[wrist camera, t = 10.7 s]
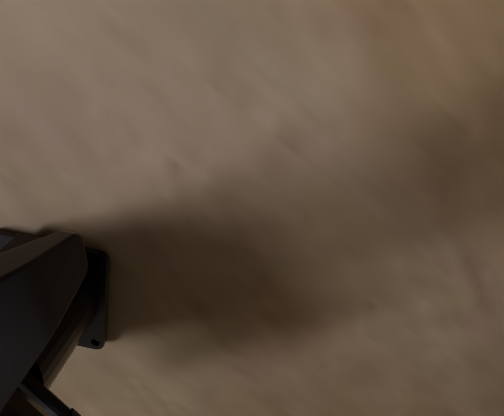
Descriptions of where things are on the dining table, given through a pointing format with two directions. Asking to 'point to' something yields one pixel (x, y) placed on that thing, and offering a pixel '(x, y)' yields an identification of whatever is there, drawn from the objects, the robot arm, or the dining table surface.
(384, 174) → the dining table surface
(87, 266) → the robot arm
